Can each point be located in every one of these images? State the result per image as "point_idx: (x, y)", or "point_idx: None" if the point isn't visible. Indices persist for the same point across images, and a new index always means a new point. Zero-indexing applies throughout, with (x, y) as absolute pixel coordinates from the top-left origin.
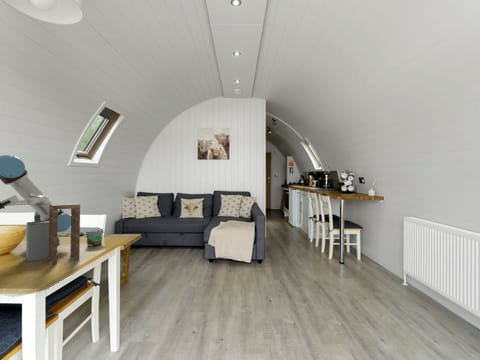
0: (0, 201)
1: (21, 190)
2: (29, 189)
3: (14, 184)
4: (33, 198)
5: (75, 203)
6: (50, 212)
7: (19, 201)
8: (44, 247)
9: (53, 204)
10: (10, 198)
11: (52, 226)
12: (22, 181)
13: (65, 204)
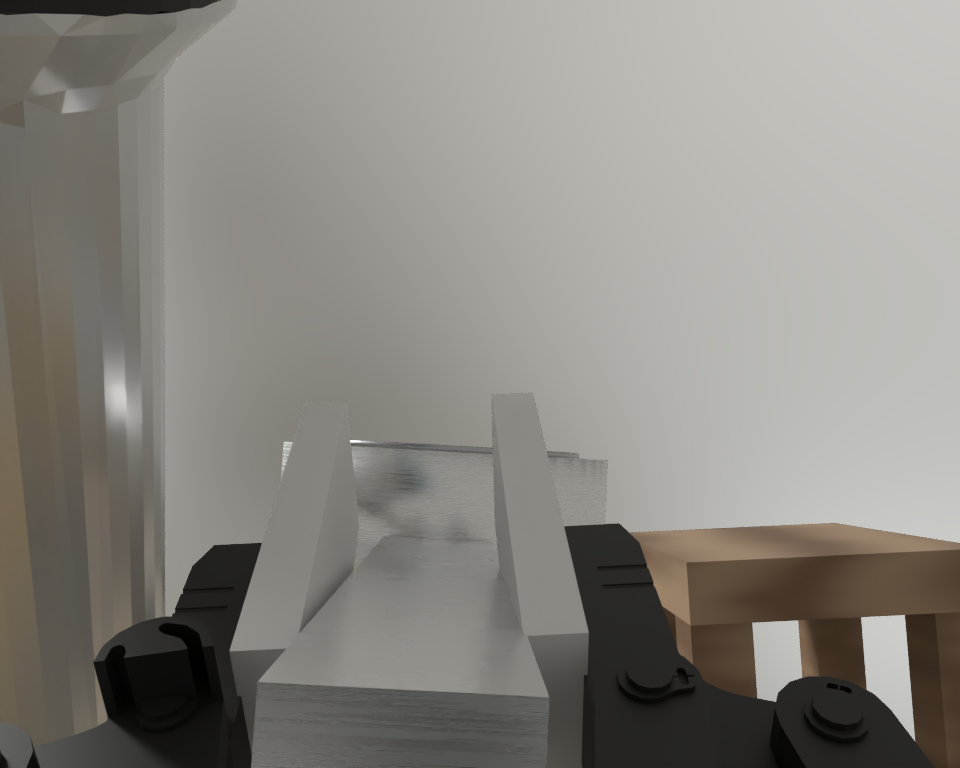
0: (326, 623)
1: (86, 315)
2: (163, 315)
3: (57, 107)
4: (593, 473)
5: (697, 530)
6: (753, 693)
7: (497, 562)
8: None
9: (762, 554)
10: (546, 471)
11: None
12: (159, 90)
13: (813, 537)
